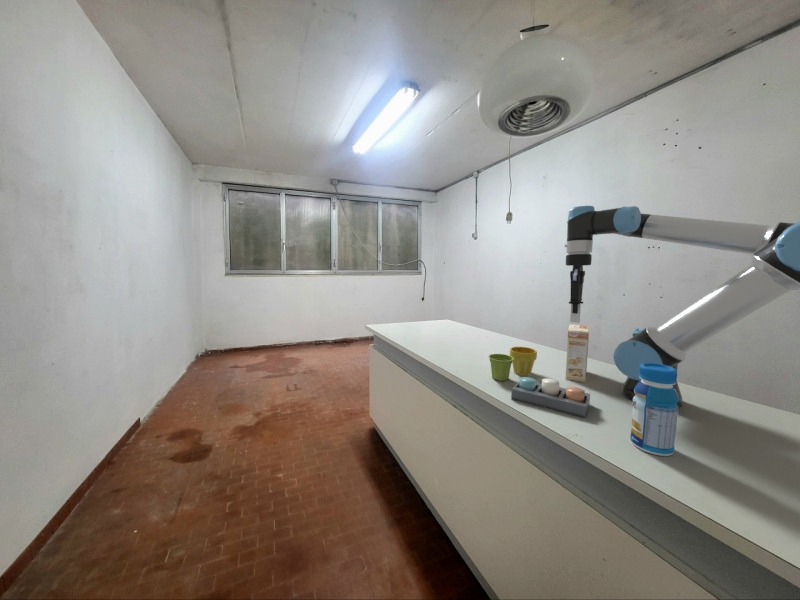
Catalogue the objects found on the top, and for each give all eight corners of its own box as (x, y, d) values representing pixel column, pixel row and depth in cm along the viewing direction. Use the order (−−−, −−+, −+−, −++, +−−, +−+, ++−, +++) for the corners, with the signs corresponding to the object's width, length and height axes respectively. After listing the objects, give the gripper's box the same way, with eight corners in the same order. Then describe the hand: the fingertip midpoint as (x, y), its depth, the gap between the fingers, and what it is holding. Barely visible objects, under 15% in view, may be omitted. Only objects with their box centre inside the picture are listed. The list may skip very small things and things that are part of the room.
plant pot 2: (540, 377, 119) (541, 353, 118) (514, 377, 119) (515, 353, 118) (529, 368, 130) (530, 346, 128) (505, 368, 130) (506, 346, 129)
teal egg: (536, 391, 102) (537, 379, 101) (533, 396, 98) (533, 383, 97) (521, 388, 105) (522, 376, 104) (517, 393, 101) (517, 380, 100)
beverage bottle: (662, 461, 67) (670, 375, 65) (621, 441, 75) (627, 364, 73) (682, 452, 70) (690, 369, 68) (641, 434, 78) (647, 359, 76)
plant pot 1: (509, 374, 122) (510, 353, 121) (516, 383, 113) (516, 361, 112) (486, 373, 123) (486, 353, 122) (490, 382, 114) (491, 360, 113)
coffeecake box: (586, 382, 113) (589, 332, 111) (564, 379, 117) (567, 330, 115) (586, 371, 126) (589, 325, 124) (566, 368, 129) (569, 323, 127)
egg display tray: (589, 404, 95) (590, 393, 95) (585, 418, 86) (585, 406, 86) (521, 388, 108) (521, 379, 108) (511, 399, 99) (511, 388, 99)
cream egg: (560, 393, 97) (560, 380, 97) (556, 399, 93) (557, 385, 93) (543, 389, 100) (543, 377, 100) (539, 394, 97) (540, 381, 96)
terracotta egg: (584, 403, 93) (585, 389, 93) (582, 408, 89) (583, 394, 89) (566, 398, 96) (567, 385, 96) (563, 404, 92) (564, 390, 92)
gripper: (569, 254, 109) (566, 318, 111) (562, 253, 99) (559, 324, 101) (593, 254, 104) (589, 320, 107) (589, 252, 94) (585, 326, 97)
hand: (574, 322), depth 104 cm, fingers closed
